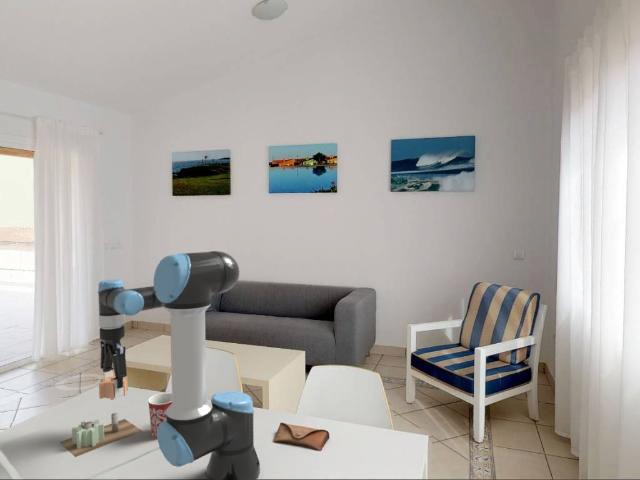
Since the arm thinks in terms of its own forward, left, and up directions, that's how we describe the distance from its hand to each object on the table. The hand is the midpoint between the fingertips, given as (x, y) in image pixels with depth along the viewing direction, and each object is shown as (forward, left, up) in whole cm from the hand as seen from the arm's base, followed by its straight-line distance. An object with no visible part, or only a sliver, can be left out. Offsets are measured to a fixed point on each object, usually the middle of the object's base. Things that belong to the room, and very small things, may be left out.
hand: (113, 393), depth 146 cm
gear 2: (0, 0, 0) cm, 0 cm away
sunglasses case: (-49, -39, -15) cm, 65 cm away
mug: (-13, -12, -15) cm, 23 cm away
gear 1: (0, +9, -13) cm, 16 cm away
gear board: (0, +4, -15) cm, 15 cm away
